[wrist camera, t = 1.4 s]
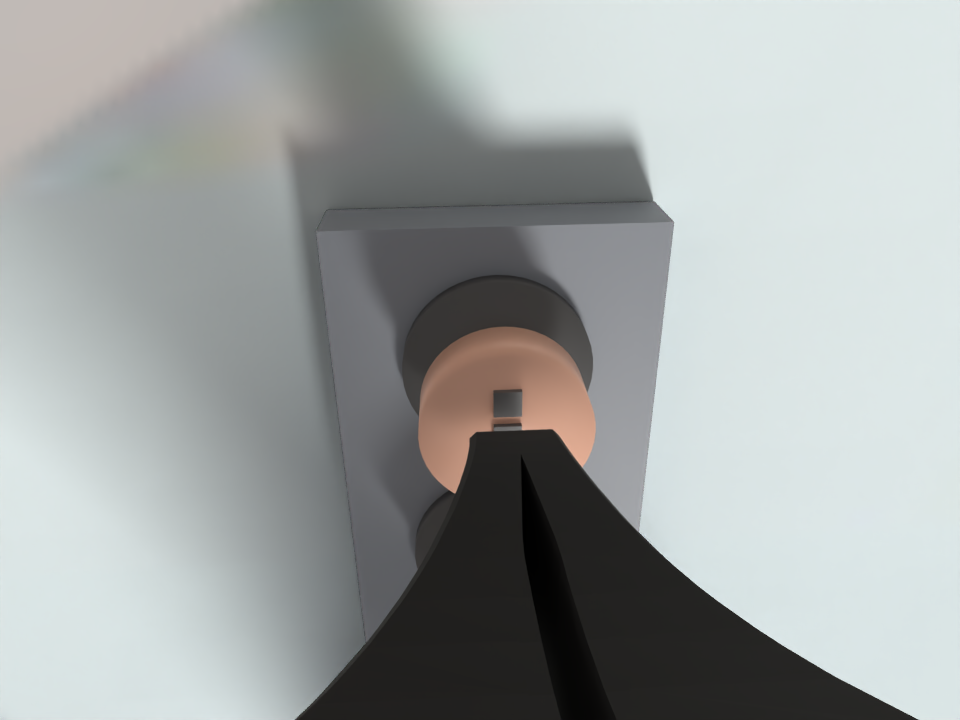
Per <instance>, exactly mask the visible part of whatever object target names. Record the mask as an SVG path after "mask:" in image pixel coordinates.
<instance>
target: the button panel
mask: <svg viewBox="0 0 960 720" xmlns="http://www.w3.org/2000/svg"><path fill="white" fill-rule="evenodd" d="M673 228H674V221H673V220H672V219H671V218H670V217H669V216H668V215H667V214H666V213H665V212H664V211H663V210H662V209H661V208H660V207H659V206H658V205H657V204H656V203H655V202H615V203H575V204H535V205H496V206H456V207H416V208H376V209H337V210H326V212H325V214H324V216H323V218H322V220H321V222H320V224H319V226H318V228H317V230H316V238H317V246H318V254H319V262H320V271H321V279H322V287H323V295H324V303H325V312H326V320H327V328H328V336H329V345H330V353H331V361H332V369H333V377H334V386H335V394H336V402H337V410H338V419H339V427H340V435H341V443H342V451H343V460H344V468H345V476H346V484H347V493H348V501H349V509H350V517H351V525H352V534H353V542H354V550H355V558H356V567H357V575H358V583H359V591H360V599H361V608H362V616H363V624H364V632H365V640H366V642H367V641H368V640H369V639H370V637H371V636H372V635H373V634H374V632H375V631H376V630H377V628H378V627H379V626H380V624H381V623H382V622H383V620H384V619H385V617H386V616H387V615H388V613H389V612H390V611H391V609H392V608H393V606H394V605H395V604H396V602H397V601H398V600H399V598H400V597H401V595H402V594H403V592H404V591H405V589H406V587H407V586H408V584H409V583H410V581H411V580H412V578H413V577H414V575H415V573H416V572H417V570H418V568H419V567H420V565H421V563H422V561H423V560H424V558H425V556H426V554H427V553H428V551H429V549H430V547H431V545H432V543H433V541H434V539H435V537H436V535H437V533H438V531H439V529H440V527H441V525H442V523H443V521H444V519H445V517H446V515H447V513H448V511H449V508H450V506H451V503H452V501H453V498H454V496H455V493H453V492H451V491H450V490H448V489H447V488H446V487H444V486H443V485H442V484H441V483H440V482H439V481H438V480H437V479H436V478H435V477H434V476H433V475H432V473H431V472H430V470H429V469H428V468H427V466H426V464H425V462H424V460H423V458H422V454H421V451H420V447H419V440H418V428H419V409H420V394H421V388H422V384H423V381H424V377H425V375H426V373H427V371H428V369H429V367H430V366H431V364H432V363H433V361H434V360H435V359H436V357H437V356H438V355H439V354H440V353H441V352H442V351H443V350H444V349H445V348H447V347H448V346H449V345H450V344H452V343H453V342H455V341H456V340H458V339H459V338H462V337H464V336H466V335H468V334H470V333H473V332H476V331H479V330H483V329H487V328H493V327H517V328H524V329H528V330H532V331H535V332H538V333H540V334H542V335H545V336H547V337H548V338H550V339H552V340H554V341H555V342H556V343H558V344H559V345H560V346H562V347H563V348H564V349H565V350H566V351H567V352H568V353H569V355H570V356H571V357H572V359H573V360H574V361H575V363H576V365H577V367H578V369H579V371H580V374H581V376H582V379H583V382H584V385H585V388H586V391H587V394H588V396H589V399H590V402H591V405H592V408H593V411H594V416H595V422H596V433H595V440H594V444H593V447H592V451H591V453H590V455H589V457H588V459H587V461H586V463H585V464H584V466H583V467H582V468H583V469H584V470H585V472H586V473H587V474H588V476H589V477H590V478H591V479H592V481H593V482H594V483H595V484H596V485H597V487H598V488H599V489H600V490H601V491H602V492H603V494H604V495H605V496H606V497H607V498H608V499H609V501H610V502H611V503H612V504H613V505H614V506H615V507H616V509H617V510H618V511H619V512H620V513H621V514H622V515H623V516H624V517H625V518H626V519H627V521H628V522H629V523H630V524H631V525H632V526H633V527H634V528H635V529H636V530H637V531H638V532H639V526H640V517H641V508H642V499H643V491H644V482H645V473H646V464H647V456H648V447H649V438H650V429H651V421H652V412H653V403H654V394H655V386H656V377H657V368H658V359H659V350H660V342H661V333H662V324H663V315H664V307H665V298H666V289H667V280H668V272H669V263H670V254H671V245H672V236H673Z"/></svg>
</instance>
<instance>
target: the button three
mask: <svg viewBox="0 0 960 720" xmlns="http://www.w3.org/2000/svg"><path fill="white" fill-rule="evenodd" d="M541 429H553V430H554V431H555V432H556V433H557V434H558V435H559V436H560V438H561V439H562V440H563V442H564V443H565V445H566V446H567V448H568V449H569V451H570V452H571V453H572V455H573V456H574V457H575V459H576V460H577V461H578V463H579V464H580V465H581V467H583V466H584V464H585V463H586V461H587V459H588V457H589V455H590V453H591V451H592V447H593V444H594V440H595V433H596V422H595V416H594V411H593V408H592V405H591V402H590V399H589V396H588V394H587V391H586V388H585V385H584V382H583V379H582V376H581V374H580V371H579V369H578V367H577V365H576V363H575V361H574V360H573V359H572V357H571V356H570V355H569V353H568V352H567V351H566V350H565V349H564V348H563V347H562V346H560V345H559V344H558V343H556V342H555V341H554V340H552V339H550V338H548V337H547V336H545V335H542V334H540V333H538V332H535V331H532V330H528V329H524V328H517V327H493V328H487V329H483V330H479V331H476V332H473V333H470V334H468V335H466V336H464V337H462V338H459V339H458V340H456V341H455V342H453V343H452V344H450V345H449V346H448V347H447V348H445V349H444V350H443V351H442V352H441V353H440V354H439V355H438V356H437V357H436V359H435V360H434V361H433V363H432V364H431V366H430V367H429V369H428V371H427V373H426V375H425V377H424V381H423V384H422V388H421V394H420V409H419V428H418V440H419V447H420V451H421V454H422V458H423V460H424V462H425V464H426V466H427V468H428V469H429V470H430V472H431V473H432V475H433V476H434V477H435V478H436V479H437V480H438V481H439V482H440V483H441V484H442V485H443V486H444V487H446V488H447V489H448V490H450V491H451V492H453V493H456V491H457V488H458V486H459V483H460V480H461V477H462V474H463V471H464V468H465V464H466V461H467V456H468V451H469V438H470V437H471V436H472V435H474V434H475V433H476V432H486V431H514V430H541Z"/></svg>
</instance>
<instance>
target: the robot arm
mask: <svg viewBox="0 0 960 720" xmlns="http://www.w3.org/2000/svg"><path fill="white" fill-rule="evenodd" d="M295 720H918V719H916V718H914V717H912V716H910V715H908V714H906V713H904V712H902V711H900V710H898V709H896V708H895V707H893V706H891V705H889V704H887V703H885V702H883V701H881V700H879V699H877V698H875V697H873V696H871V695H869V694H867V693H865V692H863V691H862V690H860V689H858V688H856V687H854V686H852V685H850V684H848V683H846V682H844V681H842V680H840V679H838V678H836V677H835V676H833V675H831V674H829V673H828V672H826V671H824V670H822V669H821V668H819V667H817V666H816V665H814V664H812V663H811V662H809V661H807V660H806V659H804V658H802V657H801V656H799V655H797V654H796V653H794V652H792V651H791V650H789V649H787V648H786V647H784V646H782V645H781V644H779V643H778V642H776V641H775V640H773V639H772V638H770V637H768V636H767V635H765V634H764V633H762V632H761V631H759V630H758V629H756V628H755V627H753V626H752V625H750V624H749V623H748V622H746V621H745V620H743V619H742V618H741V617H739V616H738V615H736V614H735V613H734V612H732V611H731V610H729V609H728V608H726V607H725V606H724V605H722V604H721V603H719V602H718V601H717V600H715V599H714V598H713V597H711V596H710V595H709V594H708V593H706V592H705V591H704V590H702V589H701V588H700V587H698V586H697V585H696V584H695V583H694V582H692V581H691V580H690V579H689V578H688V577H686V576H685V575H684V574H683V573H682V572H680V571H679V570H678V569H677V568H676V567H675V566H673V565H672V564H671V563H670V562H669V561H668V560H667V559H666V558H665V557H664V556H663V555H661V554H660V553H659V552H658V551H657V550H656V549H655V548H654V547H653V546H652V545H651V544H650V543H649V542H648V541H647V540H646V539H645V538H644V537H643V536H642V535H641V534H640V533H639V532H638V531H637V530H636V529H635V528H634V527H633V526H632V525H631V524H630V523H629V522H628V521H627V519H626V518H625V517H624V516H623V515H622V514H621V513H620V512H619V511H618V510H617V509H616V507H615V506H614V505H613V504H612V503H611V502H610V501H609V499H608V498H607V497H606V496H605V495H604V494H603V492H602V491H601V490H600V489H599V488H598V487H597V485H596V484H595V483H594V482H593V481H592V479H591V478H590V477H589V476H588V474H587V473H586V472H585V470H584V469H583V468H582V467H581V465H580V464H579V463H578V461H577V460H576V459H575V457H574V456H573V455H572V453H571V452H570V451H569V449H568V448H567V446H566V445H565V443H564V442H563V440H562V439H561V438H560V436H559V435H558V434H557V433H556V432H555V431H554V430H553V429H541V430H514V431H486V432H476V433H475V434H474V435H472V436H471V437H470V438H469V451H468V456H467V461H466V464H465V468H464V471H463V474H462V477H461V480H460V483H459V486H458V488H457V491H456V493H455V496H454V498H453V501H452V503H451V506H450V508H449V511H448V513H447V515H446V517H445V519H444V521H443V523H442V525H441V527H440V529H439V531H438V533H437V535H436V537H435V539H434V541H433V543H432V545H431V547H430V549H429V551H428V553H427V554H426V556H425V558H424V560H423V561H422V563H421V565H420V567H419V568H418V570H417V572H416V573H415V575H414V577H413V578H412V580H411V581H410V583H409V584H408V586H407V587H406V589H405V591H404V592H403V594H402V595H401V597H400V598H399V600H398V601H397V602H396V604H395V605H394V606H393V608H392V609H391V611H390V612H389V613H388V615H387V616H386V617H385V619H384V620H383V622H382V623H381V624H380V626H379V627H378V628H377V630H376V631H375V632H374V634H373V635H372V636H371V637H370V639H369V640H368V641H367V642H366V644H365V645H364V646H363V647H362V649H361V650H360V651H359V652H358V653H357V654H356V655H355V657H354V658H353V659H352V660H351V661H350V662H349V663H348V664H347V666H346V667H345V668H344V669H343V670H342V671H341V672H340V673H339V675H338V676H337V677H336V678H335V679H334V680H333V681H332V682H331V684H330V685H329V686H328V687H327V688H326V689H325V690H324V692H323V693H322V694H321V695H320V696H319V697H318V698H317V699H316V700H315V701H314V702H313V703H312V704H311V705H310V706H309V707H308V708H307V709H306V710H305V711H304V712H303V713H302V714H300V715H299V716H298V717H297V718H296V719H295Z"/></svg>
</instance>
